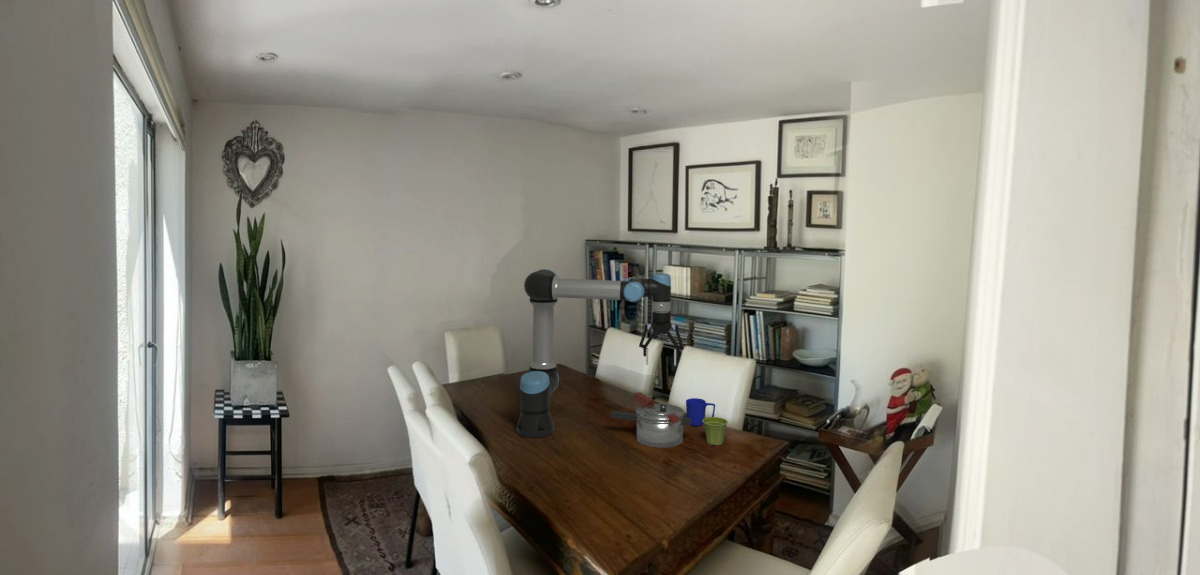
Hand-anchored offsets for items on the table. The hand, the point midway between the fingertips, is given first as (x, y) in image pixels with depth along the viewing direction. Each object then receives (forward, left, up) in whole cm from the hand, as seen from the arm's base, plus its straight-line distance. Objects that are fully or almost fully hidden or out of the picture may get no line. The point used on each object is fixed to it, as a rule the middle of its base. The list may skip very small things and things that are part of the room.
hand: (661, 364), depth 237 cm
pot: (-1, -15, -26) cm, 30 cm away
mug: (+16, +6, -26) cm, 31 cm away
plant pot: (+24, -13, -26) cm, 38 cm away
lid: (0, -12, -16) cm, 20 cm away
